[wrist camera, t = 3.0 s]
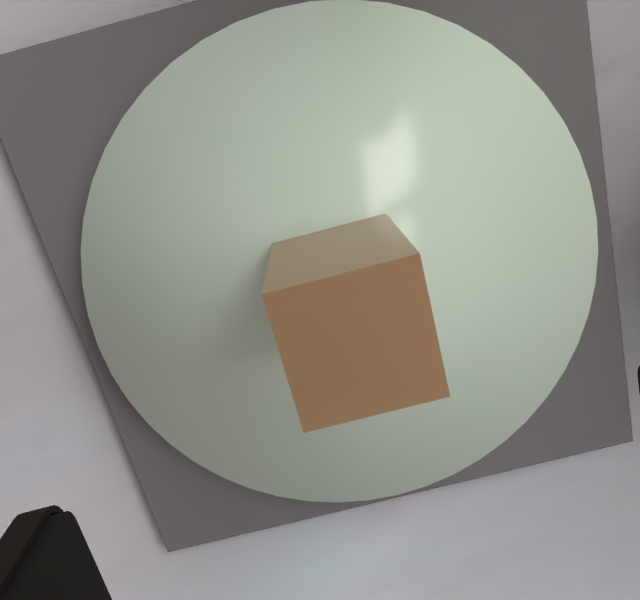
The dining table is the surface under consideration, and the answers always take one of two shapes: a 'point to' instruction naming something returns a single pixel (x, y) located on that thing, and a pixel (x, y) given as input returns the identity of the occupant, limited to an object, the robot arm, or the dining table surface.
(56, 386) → the dining table surface
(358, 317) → the lid
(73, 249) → the mat
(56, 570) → the robot arm
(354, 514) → the dining table surface
